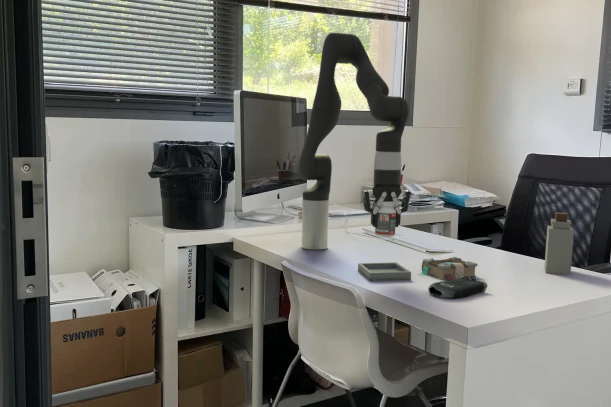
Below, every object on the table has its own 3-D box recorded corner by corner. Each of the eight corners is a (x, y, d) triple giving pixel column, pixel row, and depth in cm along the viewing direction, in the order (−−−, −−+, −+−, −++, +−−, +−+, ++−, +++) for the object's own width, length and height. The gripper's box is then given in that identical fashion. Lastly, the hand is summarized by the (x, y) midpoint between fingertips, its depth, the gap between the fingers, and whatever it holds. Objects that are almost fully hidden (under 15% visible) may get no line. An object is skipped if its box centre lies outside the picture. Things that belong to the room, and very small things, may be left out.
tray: (357, 270, 170) (358, 263, 170) (396, 269, 173) (396, 262, 172) (369, 281, 159) (370, 273, 158) (410, 280, 161) (411, 272, 161)
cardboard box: (430, 284, 158) (431, 267, 157) (405, 274, 169) (406, 258, 168) (487, 278, 166) (488, 261, 165) (460, 269, 177) (460, 253, 176)
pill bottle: (394, 237, 161) (396, 202, 160) (374, 236, 162) (375, 201, 161) (395, 234, 167) (396, 200, 165) (375, 233, 168) (377, 199, 166)
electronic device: (456, 290, 158) (420, 291, 148) (461, 271, 157) (425, 270, 148) (484, 303, 150) (448, 305, 141) (489, 283, 149) (453, 283, 140)
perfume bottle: (568, 270, 177) (572, 212, 175) (570, 275, 171) (575, 215, 169) (544, 268, 179) (548, 211, 177) (545, 273, 173) (550, 213, 171)
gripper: (406, 167, 167) (404, 224, 169) (359, 166, 164) (357, 224, 166) (416, 169, 160) (413, 228, 162) (366, 168, 157) (364, 229, 159)
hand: (385, 226), depth 164 cm, fingers closed on pill bottle, 5 cm apart
